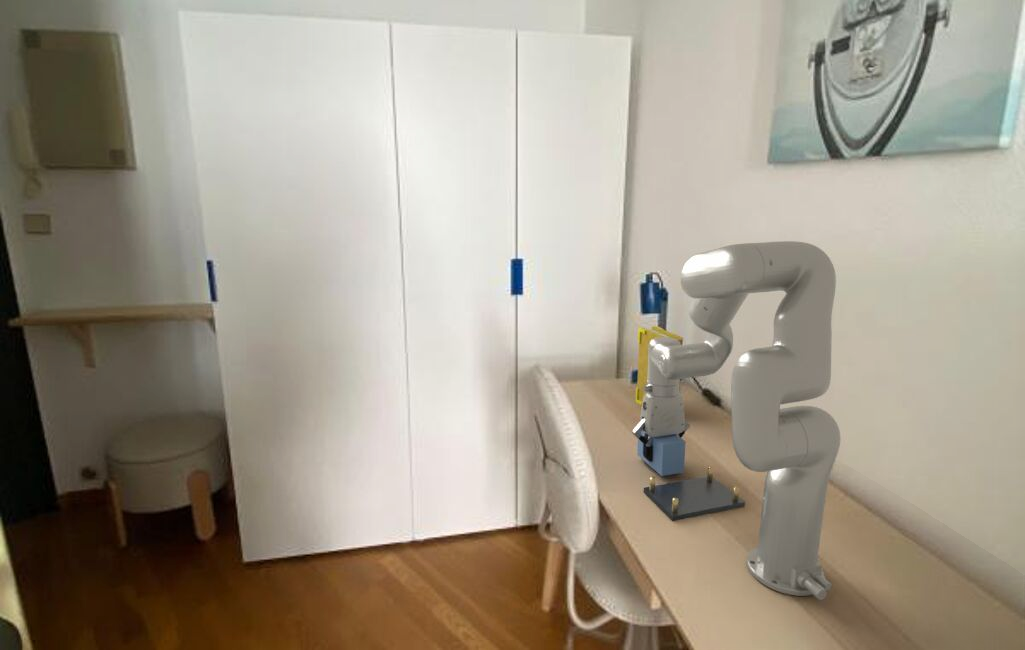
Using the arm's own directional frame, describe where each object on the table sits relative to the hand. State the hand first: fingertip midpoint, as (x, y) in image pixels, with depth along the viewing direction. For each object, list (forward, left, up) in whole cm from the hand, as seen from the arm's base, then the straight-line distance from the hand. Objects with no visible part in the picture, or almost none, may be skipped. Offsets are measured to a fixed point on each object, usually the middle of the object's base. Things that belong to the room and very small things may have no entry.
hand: (660, 456), depth 136 cm
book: (+34, -20, -3) cm, 40 cm away
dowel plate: (-15, +1, -3) cm, 15 cm away
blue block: (0, 0, -2) cm, 2 cm away
